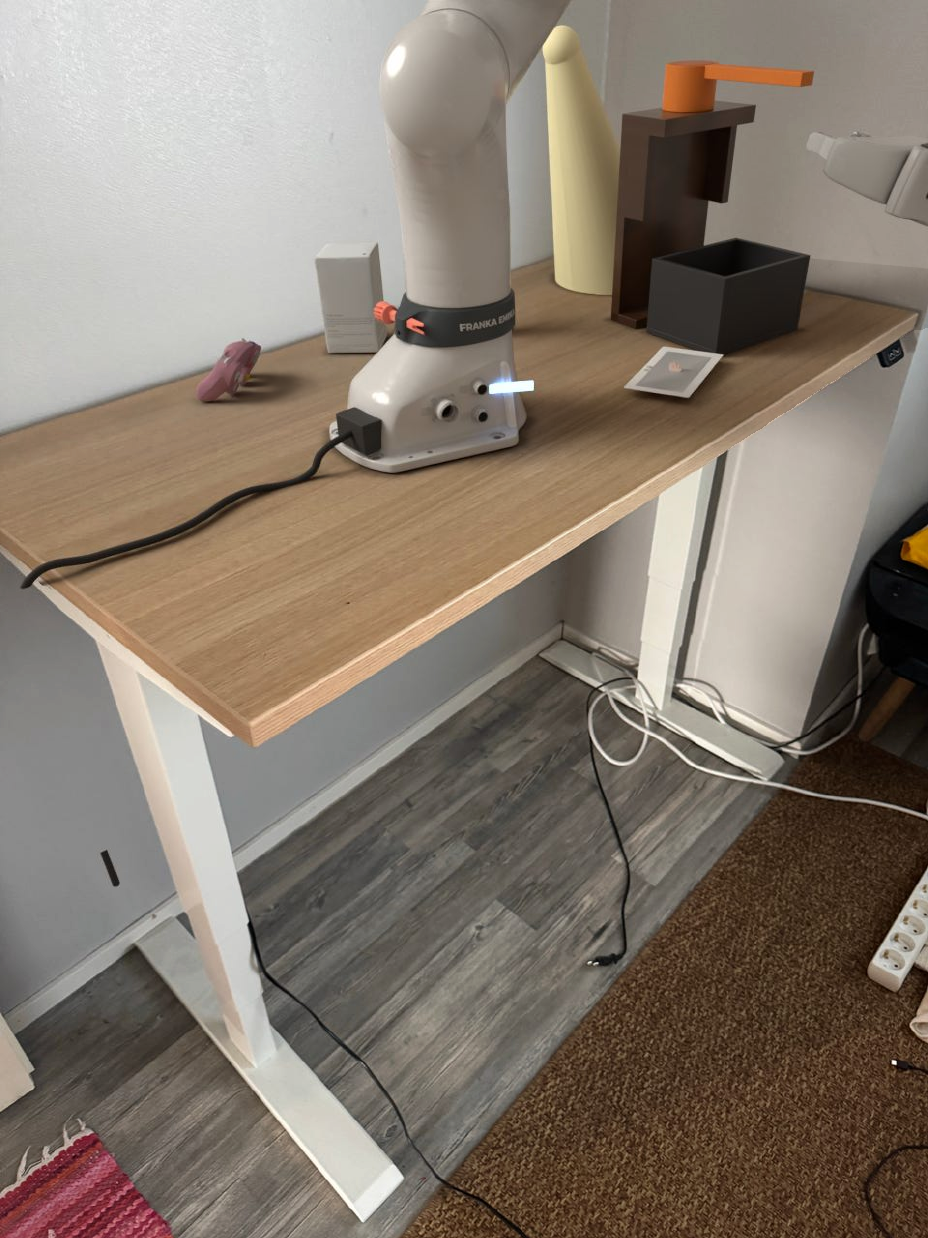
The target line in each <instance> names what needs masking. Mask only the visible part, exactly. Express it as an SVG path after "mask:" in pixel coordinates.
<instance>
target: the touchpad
mask: <svg viewBox="0 0 928 1238" xmlns="http://www.w3.org/2000/svg"><path fill="white" fill-rule="evenodd" d="M723 357H724V355H723V354H715V353H708V352H700V351H697V350H694V349H685V348H678V347H670V346H662V347H661V348H660V349H659V350H658V351H657V352H656V354H654V355H653V356H652V357H651V358H650V360H648V362H647V363H645V365H643V367H642V368H641V369H640V370H639V371H638V372H637V373H636V374H635V375H634V376H633V377H632V378H631V379H630V380H629V381H628V382H626V384H625V385H624V386H623V389H627V390H634V391H641V392H647V393H654V394H660V395H668V396H672V397H680V398H687V399H690V398H691V396H693V395H692V394H694V392H695V391H696V390H697V389H698V387H699V386H700V385H701V383H703V381H704V380H705V379H706V378H707V376H708V375H709V373H710V372H711V371H713V369H714V367H715V366H717V364H718V363H719V361H720V360H721V359H722V358H723Z"/></svg>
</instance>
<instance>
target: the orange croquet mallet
mask: <svg viewBox="0 0 928 1238" xmlns="http://www.w3.org/2000/svg"><path fill="white" fill-rule="evenodd" d="M664 72H665V73H664V84H663V85H664V86H663V96H662V107H661V108H662V109H663V110H665V111H669V112H704V111H710V110H712V109H714V102H715V101H716V94H717V93H716V92H717V85H718V84H717V83H718V81H727V82H737V83H738V82H739V83H750V84H761V85H772V86H783V87H794V88H803V87H811V86H813V80H814V76H815V71H814V70H805V69H791V68H778V67H764V66H763V67H762V66H750V65H736V64H724V63H723V64H722V63H720V62H718V61H714V60H700V59H699V60H696V59H695V60H677V61H670V62H667V63H666V64H665V71H664Z"/></svg>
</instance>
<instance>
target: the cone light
mask: <svg viewBox="0 0 928 1238" xmlns="http://www.w3.org/2000/svg"><path fill="white" fill-rule="evenodd" d="M580 39H581V38H580V36H579V34H578V33H577V32H576V30H575V29H573V27H570V26H568V25H564V24H563V25H562V24H561V25H556V26H555V27H554V29H553V30H552V32H551V34H550V35H549V37H548V38H547V40H546V42H545V43H544V45H543V46H542V56H543V58H544V63H545V65H544V67H545V85H546V86H545V87H546V109H547V131H548V132H547V133H548V153H549V154H548V155H549V174H550V175H549V177H550V198H551V199H550V200H551V219H552V220H551V221H552V222H551V223H552V243H553V263H554V264H553V266H554V281H555V283H556V284H557V285H558V286H559V287H562V288H564V289H566V290H569V291H572V292H577V293H582V294H587V295H588V294H589V295H596V296H597V295H599V296H612V286H613V269H614V251H615V234H616V216H617V199H618V181H619V164H620V146H619V143H618V140H617V138H616V135H615V133H614V130H613V127H612V125H611V123H610V120H609V117H608V114H607V112H606V109H605V107H604V104H603V102H602V99H601V96H600V94H599V91H598V88H597V86H596V84H595V81H594V79H593V76H592V73H591V70H590V68H589V65H588V63H587V61H586V57H585V55H584V52H583V49H582V47H581V45H582V44H581V40H580Z"/></svg>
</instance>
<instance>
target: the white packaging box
mask: <svg viewBox="0 0 928 1238" xmlns="http://www.w3.org/2000/svg"><path fill="white" fill-rule="evenodd" d="M379 249H380V248H379V242H377V241H372V242H371V241H370V242H338V243H337V242H335V243H330V242H329V243H328V242H327V243H325V244H324V246H323V247H322V248H321V249H320V250H319V252H318V253H317V254H316V255H315V257H313V260H314V267H315V273H316V280H317V285H318V286H317V288H318V295H319V301H320V308H321V316H322V323H323V330H324V331H323V332H324V337H325V344H326V350H327V354H365V353H368V354H369V353H371V354H372V353H374V354H376V353H377V352H378V351H379V350H380V349H381V348H382V347H383V346H384V344H385V340H386V339H387V336H388V331H387V324H386V323H384V322H382V321H379V320H377V319H378V318H375V314H374V312H375V310H374V308H376V307H378V306H376V304H377V303H379V302H381V301H384V300H385V299H384V290H383V279H382V271H381V270H382V269H381V261H380V250H379ZM384 302H385V301H384Z"/></svg>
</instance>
